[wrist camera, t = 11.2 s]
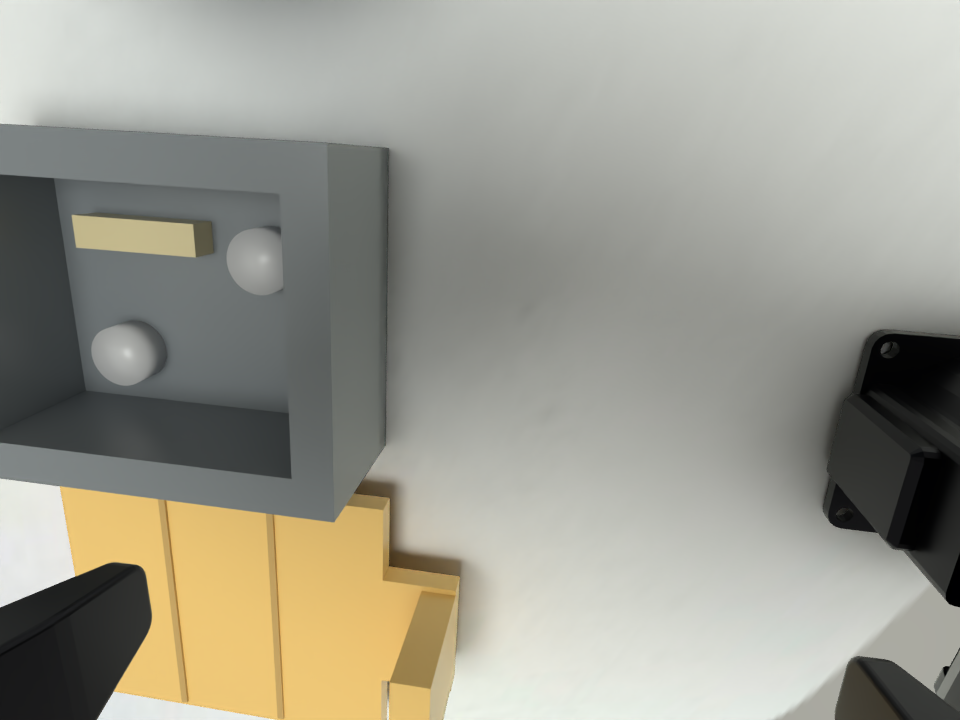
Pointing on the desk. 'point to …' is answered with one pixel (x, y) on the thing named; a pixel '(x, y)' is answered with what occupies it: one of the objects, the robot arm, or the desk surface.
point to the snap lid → (275, 608)
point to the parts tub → (193, 316)
